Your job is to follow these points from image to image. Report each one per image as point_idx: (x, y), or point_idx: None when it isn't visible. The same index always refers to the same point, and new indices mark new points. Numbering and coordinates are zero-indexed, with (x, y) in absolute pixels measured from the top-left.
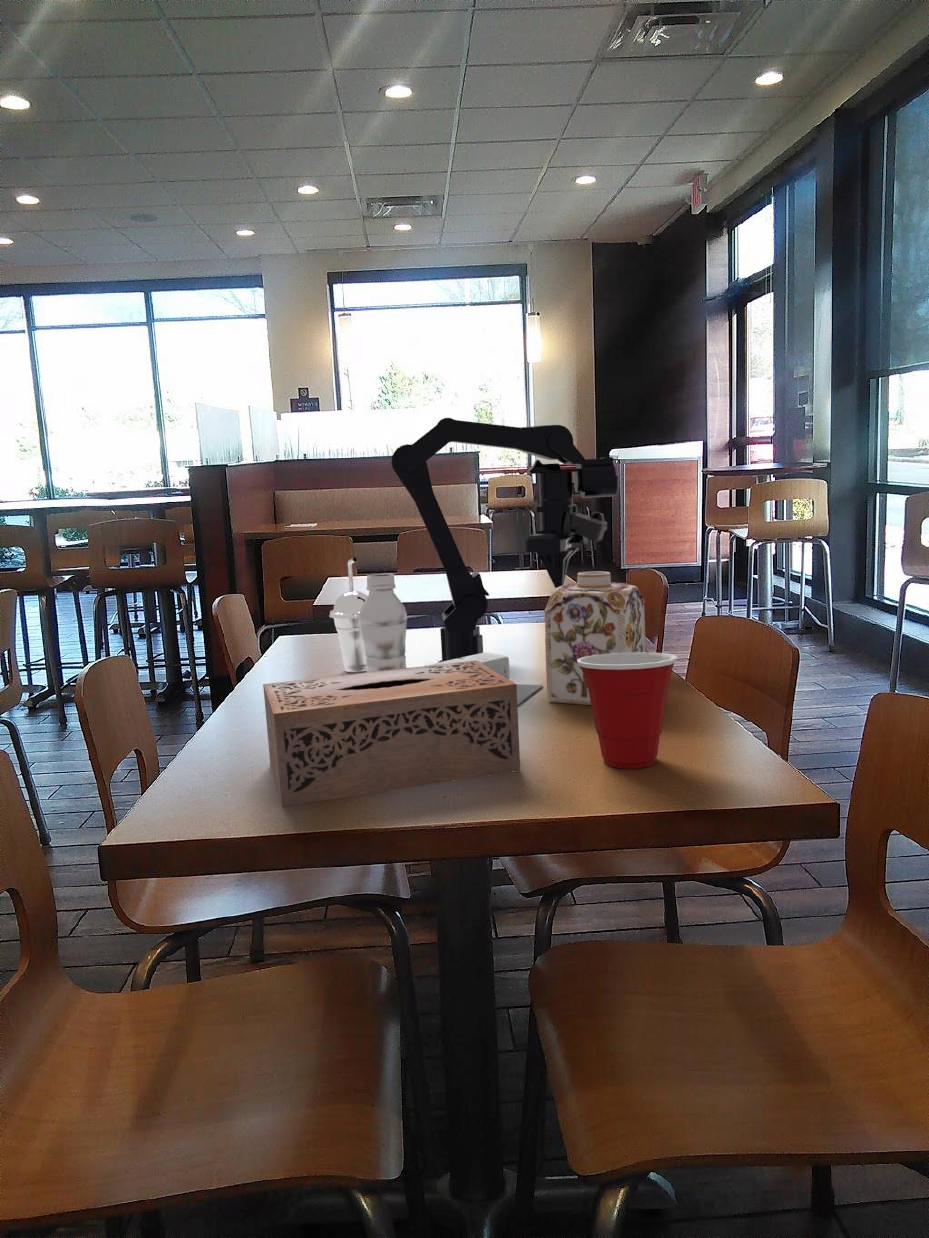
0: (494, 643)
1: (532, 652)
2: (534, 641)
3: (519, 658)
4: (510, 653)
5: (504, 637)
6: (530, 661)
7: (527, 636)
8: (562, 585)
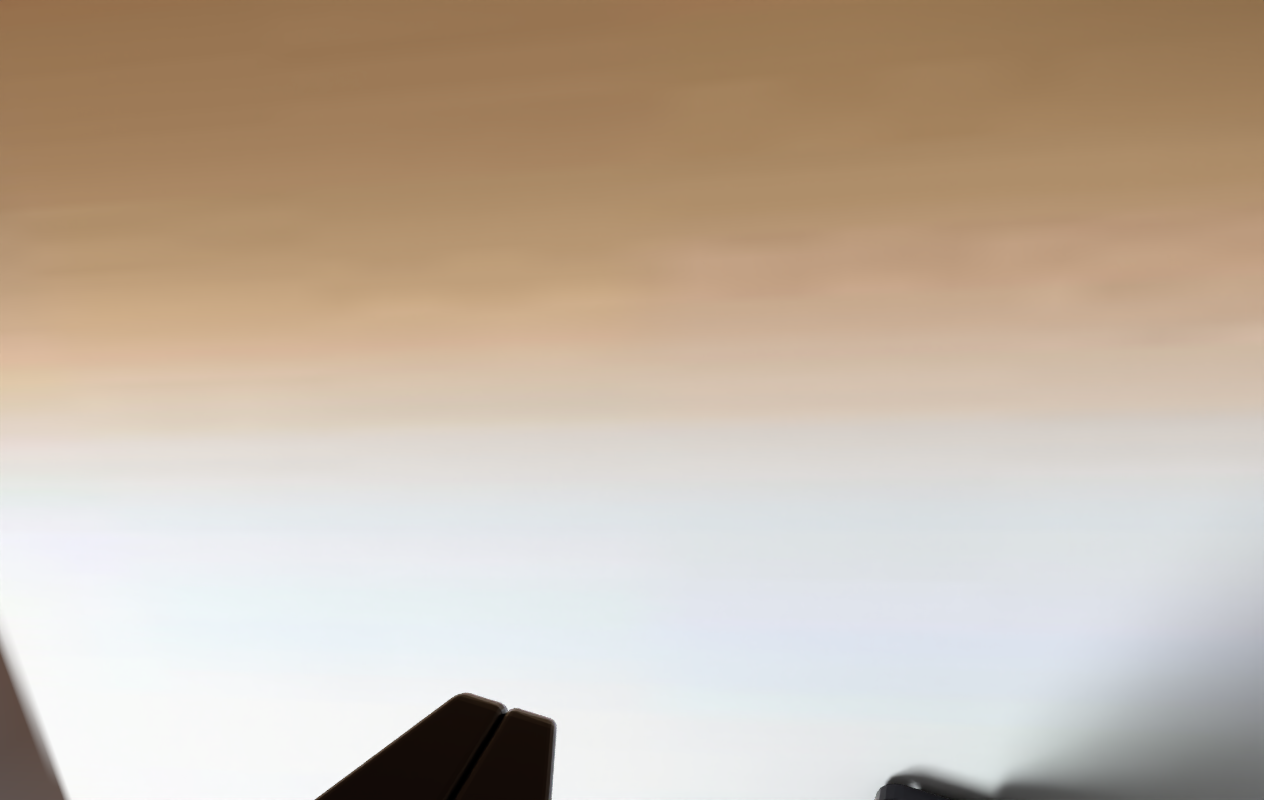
0: (311, 697)
1: (613, 462)
2: (181, 455)
3: (874, 556)
4: (660, 614)
5: (106, 638)
6: (1027, 472)
7: (26, 503)
8: (505, 751)
